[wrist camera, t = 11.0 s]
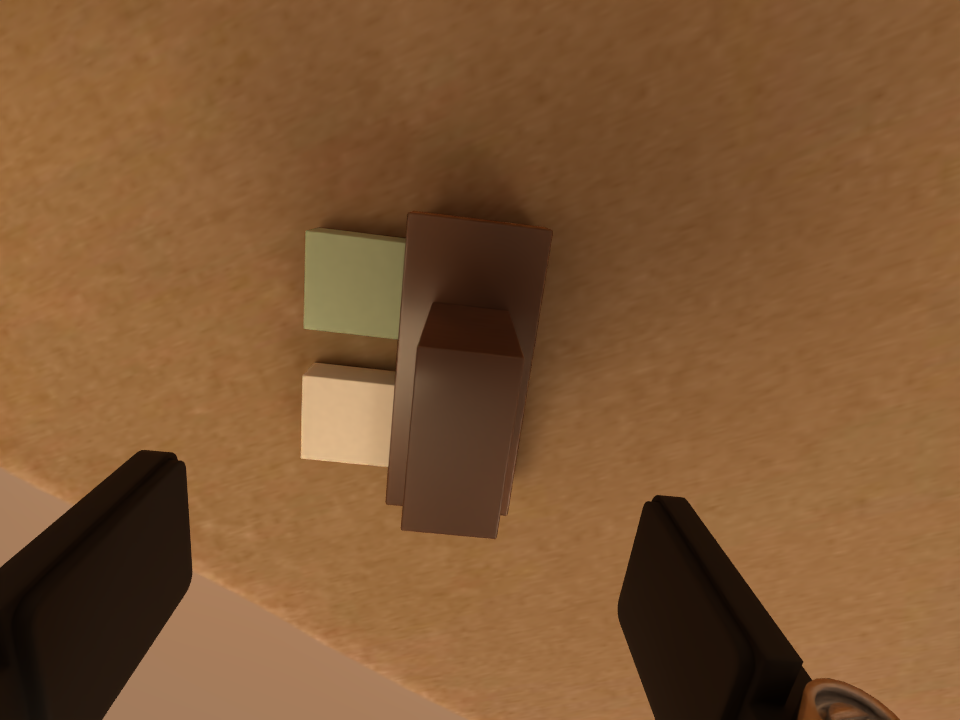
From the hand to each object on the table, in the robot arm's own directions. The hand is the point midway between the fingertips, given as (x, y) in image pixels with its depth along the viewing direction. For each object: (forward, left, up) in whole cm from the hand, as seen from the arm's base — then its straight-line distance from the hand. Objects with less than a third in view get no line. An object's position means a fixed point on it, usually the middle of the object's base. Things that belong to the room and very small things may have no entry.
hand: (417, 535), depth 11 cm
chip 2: (-4, -3, -14) cm, 15 cm away
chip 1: (-4, +3, -14) cm, 14 cm away
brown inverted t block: (+1, 0, -14) cm, 14 cm away
